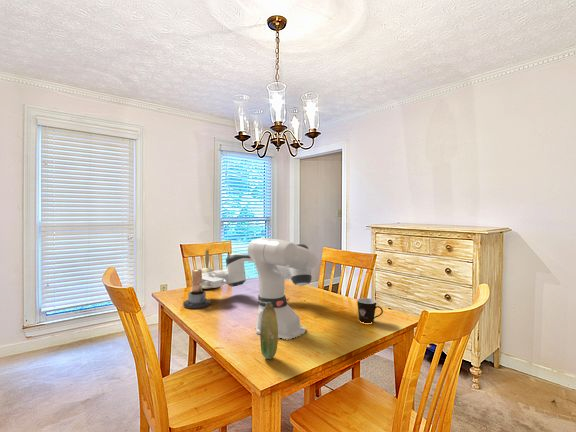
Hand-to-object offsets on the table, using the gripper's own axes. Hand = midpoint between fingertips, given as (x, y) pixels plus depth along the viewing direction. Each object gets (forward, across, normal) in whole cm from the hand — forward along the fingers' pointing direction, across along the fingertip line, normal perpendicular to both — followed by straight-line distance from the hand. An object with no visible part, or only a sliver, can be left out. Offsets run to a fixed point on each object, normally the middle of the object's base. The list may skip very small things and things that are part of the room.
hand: (195, 283), depth 167 cm
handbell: (-27, +24, -12) cm, 38 cm away
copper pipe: (-1, 0, -9) cm, 9 cm away
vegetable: (+21, -69, -12) cm, 73 cm away
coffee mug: (-33, -83, -12) cm, 90 cm away
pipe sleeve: (-1, 0, -12) cm, 12 cm away
